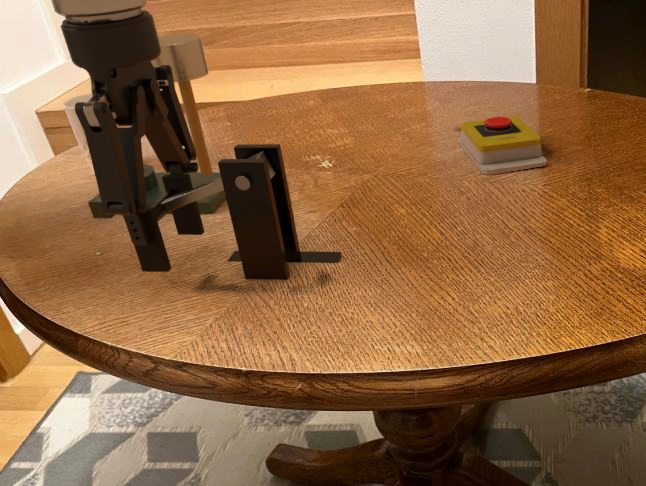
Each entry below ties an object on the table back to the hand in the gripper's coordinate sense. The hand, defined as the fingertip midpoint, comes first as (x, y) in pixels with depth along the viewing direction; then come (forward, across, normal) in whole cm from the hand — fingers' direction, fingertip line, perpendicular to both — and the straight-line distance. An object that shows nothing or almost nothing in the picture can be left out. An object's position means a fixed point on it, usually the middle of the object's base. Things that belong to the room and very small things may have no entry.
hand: (174, 250), depth 76 cm
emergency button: (+4, +38, -31) cm, 49 cm away
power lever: (-6, 0, -6) cm, 8 cm away
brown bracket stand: (+3, 0, -10) cm, 11 cm away
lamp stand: (-1, +20, +5) cm, 21 cm away
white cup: (+4, +32, +25) cm, 41 cm away
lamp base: (+3, +20, +11) cm, 23 cm away
